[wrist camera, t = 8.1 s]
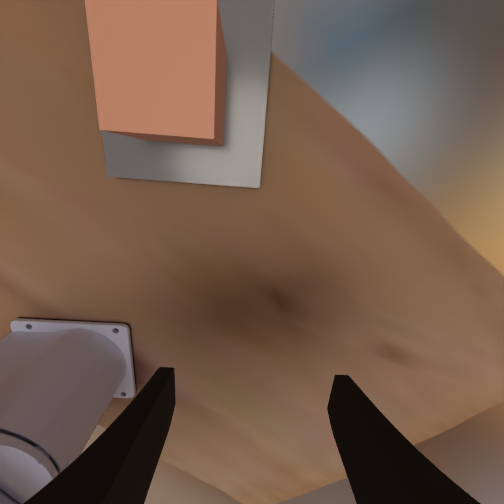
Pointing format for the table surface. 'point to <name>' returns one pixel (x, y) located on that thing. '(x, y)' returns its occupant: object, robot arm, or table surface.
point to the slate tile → (235, 122)
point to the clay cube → (159, 69)
